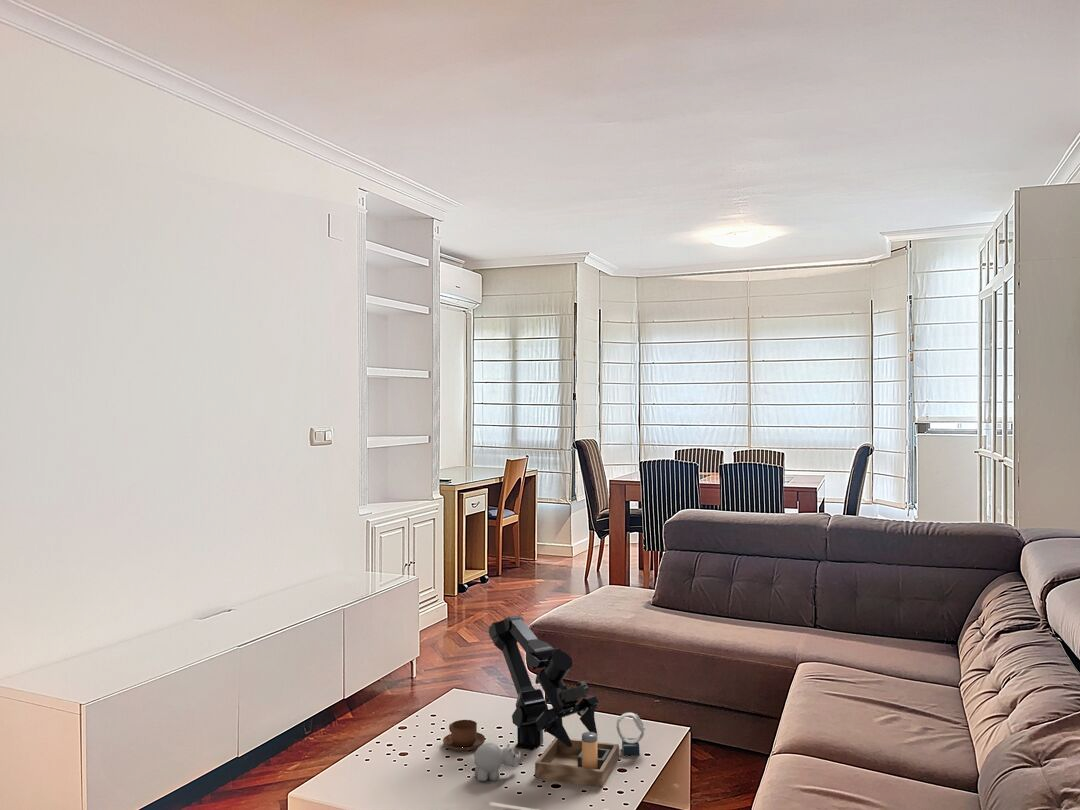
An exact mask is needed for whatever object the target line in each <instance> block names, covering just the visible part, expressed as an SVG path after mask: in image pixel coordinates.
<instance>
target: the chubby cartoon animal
mask: <svg viewBox="0 0 1080 810" xmlns="http://www.w3.org/2000/svg"><path fill="white" fill-rule="evenodd" d="M475 750H476V751H475V752H474V753H473V757H474V758H473V761H474V764H475V769H474V775H475V777H476V779H477V781H478V782H486V781H487V780H488V779H489V780H490V781H493V782H495V781H498V780H499V778H500V772H499V770H500V768H501V767H502V765H503V766H510V765H511V766H512V767H517V766H519V764H520V762H521V760H520V759H521V757H522V753H521V751H518V753H516V752H515V751H514V749H513V748H511V747H510V743H508V744H507V746H506V747H504V748H503V749H501V748H500V747H499V746H498V745H497V744H495V743H492V742H484V743H483V744H482V745H481V746H479V747H477V748H476V749H475Z"/></svg>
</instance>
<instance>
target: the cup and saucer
mask: <svg viewBox="0 0 1080 810" xmlns="http://www.w3.org/2000/svg"><path fill="white" fill-rule="evenodd" d="M477 723H478V722H476V721H474V720H472V719H460V720H458V719H457V720H455V721H453V722H451V723H450V724H449V725H448V730H449V732H450V733H449V734H447V735H446V736H444V737H443V740H442V741H443V742H442V743H443V745H444V746H446V747H447V748H449V749H450V750H453V751H471V750H474V749H475V750H476V749H478V748H479V747H480V746H481V745H482V744H485V741H486V737H485V735H484V734H482V733H480V732H477V731H478V728H477V727H478V725H477ZM462 747H463V748H462Z"/></svg>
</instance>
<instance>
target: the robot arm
mask: <svg viewBox="0 0 1080 810" xmlns="http://www.w3.org/2000/svg"><path fill="white" fill-rule="evenodd" d="M488 635H489V637H490V638H491V641H492V643H493V645H494V646H495V647H496V648H497V649H498V650H499V651H501V652H502V654H503V657H504V660H505V662H506V663H505V664H506V666H507V668H508V671H509V674H510V677H511V680H512V682H513V686H514V688H515V691H516V694H517V697H516V703H515V710H514V711H513V713H512V715H511V720H512V723H513V724H514V726H515V727H517V731H516V732H517V743H516V744H515V748H519V749H524V750H525V749H526V750H534V749H538V747H540V746H541V745H542V744H543V743H544V733H548V734H549V735H552V736H553V737H554V738H555V737H556V738H557V739H559V740H560V741H562V742H563V743H564V744H566V745H567V746H568V747H571V746H572V743H571V740H570V739H571V738H570V736H569V735H568V732H567V731H566V729H565V727H564V724H563V718H566V717H570V716H571V715H574V714H577V715H578V716H580V718H579V720H580V721H581V723H582V724H583V726H584V727H585V728H586V729H587V732H594V733H596V734H597V737H598V731H597V725H596V719H595V711H596V709H597V708H598V705H600V701H599V699H598V698H597V697H596V696H595V695H593V694H591V695H589V696H587V694H588V693H590V688H589V686H588V684H587V682H586V681H585V680H582V681H579V682H576V686H575V687H571V686H570V685H569V684H565V683H564V681H563V680H564V678H565V677H566V676H567V674H568V672H569V671H570V669H571V668H572V666H573V659H572V657H571V656H570V655H569V654H568V653H566V652H565V651H562V648H561V647H557V648H553V646H552V645H550V643H548V642H546V641H543V640H540V639H539V638H538V637H537V636H536V635H535V633H534V632H533V631H532V630H531V628H530V627H529V626H528V625H527V623H525V621H524V618H523V616H521V615H513V616H507V617H506V618H504V619H502V620H500V621H493V622H492V623H491V625H490V626H489V628H488ZM518 644H519V645H520V647H521V648H522V649H523V650H524V652H525V654H526V655H525V660H526V662H527V665H528V666H529V667H530V669H531V670H533V671H534V670H535V671H536V670H540V672H538V673H536V676H535V677H536V678H535V684H536V685H538V684H539V685H540V687H541V688H542V689H541V688H537V689H536V688H534V685H533V684H532V681H531V678H530V675H529V672H528V670H527V667H526V665H525V662H524V658H523V656H522V653H521V651H520V648H519V646H518ZM543 692H544V693H545V696H546V699H545V697H544V695H543V694H544V693H543ZM580 699H581V701H580ZM579 701H580V702H579ZM549 703H550V705H551V706H552V708H550V709H549V706H548V704H549Z"/></svg>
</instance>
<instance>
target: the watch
mask: <svg viewBox="0 0 1080 810" xmlns="http://www.w3.org/2000/svg"><path fill="white" fill-rule="evenodd" d="M627 717H632V720H633V722H634V724H635V726H636V727H637V729H638V730H639V731H640V732H641V733H640V735H639V736H638V737H636V738H635V737H631V738H628V737H627V738H625V736H624V734H623V733H622V731H621V729H620V725H619V724H620V722H621V721H622V720H623V719H625V718H627ZM616 730H617V731H616V732H617V733H618V736H619V738H620V739H621V749H622V752H623V756H640V754H641V753H640V743H639V742H640V741H642V739H644V737H645V731H646V728H645V725H644V723H643V722H642V720H641V718H640V716H639V715H638V714H637V713H634V712H624V713H622V714H621V715H620V716H619V717H618V718H617V721H616Z"/></svg>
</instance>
